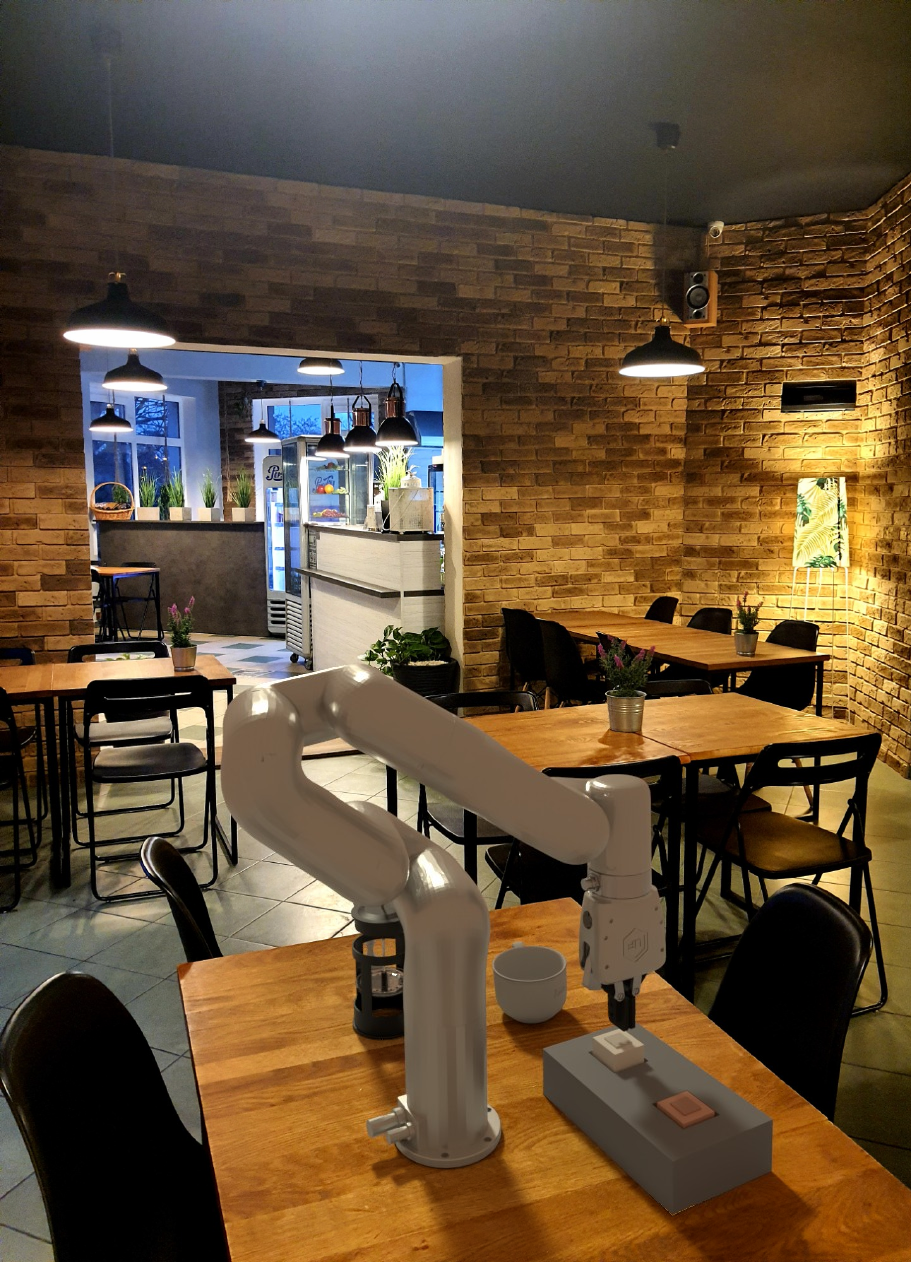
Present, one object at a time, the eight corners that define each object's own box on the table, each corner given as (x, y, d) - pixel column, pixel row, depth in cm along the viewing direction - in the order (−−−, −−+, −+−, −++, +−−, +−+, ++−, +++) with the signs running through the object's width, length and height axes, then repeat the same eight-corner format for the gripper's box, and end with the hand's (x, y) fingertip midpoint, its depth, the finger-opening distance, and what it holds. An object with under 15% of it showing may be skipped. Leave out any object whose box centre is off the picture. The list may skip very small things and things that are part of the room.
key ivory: (614, 1078, 111) (614, 1052, 111) (592, 1060, 115) (592, 1035, 115) (643, 1068, 113) (644, 1043, 113) (621, 1050, 117) (621, 1026, 117)
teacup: (570, 1032, 131) (570, 977, 130) (493, 1032, 131) (492, 978, 131) (561, 984, 145) (561, 934, 144) (491, 984, 145) (490, 935, 144)
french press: (335, 1028, 133) (330, 872, 131) (373, 999, 141) (369, 851, 139) (404, 1050, 127) (401, 887, 125) (440, 1018, 135) (437, 864, 133)
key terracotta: (683, 1149, 101) (683, 1122, 101) (656, 1127, 105) (656, 1100, 105) (714, 1136, 103) (714, 1109, 103) (686, 1115, 107) (687, 1088, 107)
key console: (672, 1216, 96) (672, 1161, 95) (543, 1093, 117) (542, 1048, 116) (771, 1170, 102) (772, 1119, 102) (632, 1062, 123) (632, 1019, 123)
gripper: (587, 903, 105) (590, 1057, 107) (689, 876, 112) (690, 1021, 114) (549, 882, 112) (553, 1028, 114) (648, 858, 119) (650, 995, 121)
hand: (622, 1024), depth 114 cm, fingers closed
